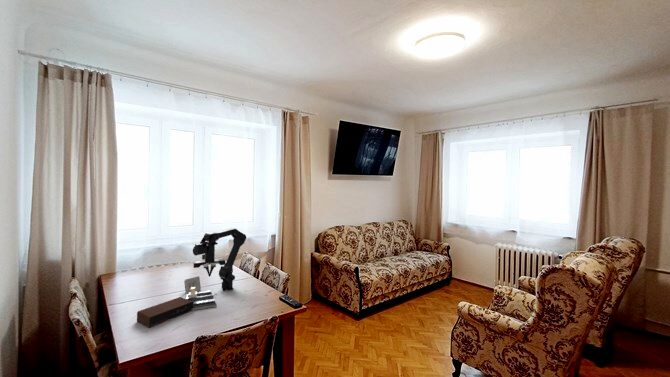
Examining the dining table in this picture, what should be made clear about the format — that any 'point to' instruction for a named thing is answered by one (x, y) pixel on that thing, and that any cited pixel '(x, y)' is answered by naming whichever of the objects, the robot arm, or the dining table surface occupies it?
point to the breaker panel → (202, 298)
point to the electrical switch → (192, 284)
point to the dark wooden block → (164, 312)
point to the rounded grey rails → (204, 306)
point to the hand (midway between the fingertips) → (209, 276)
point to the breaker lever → (192, 292)
